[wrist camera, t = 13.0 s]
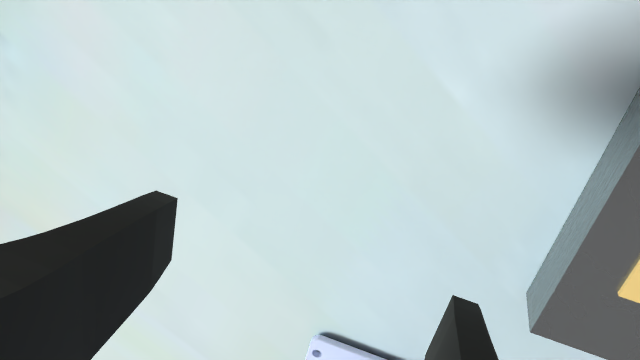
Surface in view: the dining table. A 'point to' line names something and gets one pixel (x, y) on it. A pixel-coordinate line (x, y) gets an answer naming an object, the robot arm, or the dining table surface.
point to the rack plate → (597, 258)
